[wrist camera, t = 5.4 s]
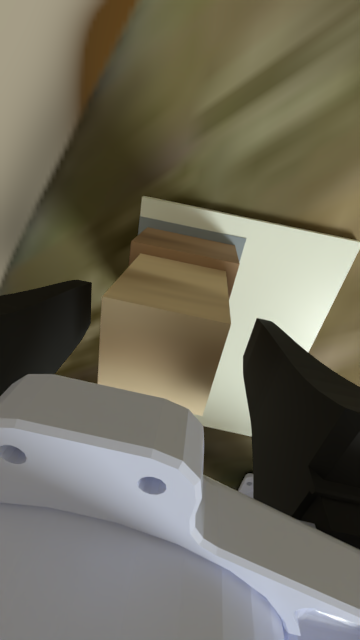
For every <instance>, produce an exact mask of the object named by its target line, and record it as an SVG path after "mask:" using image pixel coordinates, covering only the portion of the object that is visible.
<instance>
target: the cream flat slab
mask: <svg viewBox="0 0 360 640" xmlns="http://www.w3.org/2000/svg"><path fill="white" fill-rule="evenodd" d="M147 227H149V228H154V229H159V230H163V231H168V232H173V233H178V234H182V235H187V236H192V237H197V238H201V239H206V240H211V241H216V242H221V243H225V244H230V245H235V247H236V251H237V255H238V259H239V263H240V265H239V268H238V271H237V275H236V278H235V282H234V285H233V289H232V292H231V295H230V299H229V307H230V317H231V326H230V330H229V333H228V336H227V339H226V342H225V346H224V349H223V352H222V355H221V358H220V362H219V365H218V368H217V371H216V374H215V378H214V381H213V384H212V387H211V390H210V394H209V397H208V400H207V403H206V406H205V410H204V413H203V416H199V415H195V414H193V415H194V416H195V417H196V418H197V419H198V420H199V422H200V423H201V424H202V425H203V426H205V427H210V428H215V429H219V430H224V431H228V432H233V433H237V434H242V435H247V436H251V437H252V430H251V421H250V414H249V409H248V403H247V397H246V391H245V385H244V378H243V355H244V352H245V349H246V347H247V344H248V341H249V338H250V335H251V333H252V330H253V327H254V324H255V322H256V319H257V318H259V319H264V320H269V321H272V322H273V323H275V324H276V325H277V326H278V327H280V328H281V329H282V330H283V331H284V332H285V333H286V334H287V335H288V336H290V337H291V338H292V339H293V340H294V341H295V342H296V343H297V344H299V345H300V346H301V347H302V348H303V349H304V350H306V351H307V352H309V350H310V348H311V346H312V344H313V342H314V340H315V338H316V336H317V334H318V332H319V330H320V328H321V326H322V324H323V322H324V320H325V318H326V316H327V314H328V312H329V310H330V308H331V306H332V304H333V302H334V300H335V298H336V296H337V294H338V292H339V290H340V288H341V286H342V283H343V281H344V279H345V277H346V275H347V273H348V271H349V269H350V267H351V265H352V263H353V261H354V259H355V257H356V255H357V253H358V251H359V249H360V241H358V240H354V239H349V238H344V237H340V236H335V235H330V234H325V233H320V232H316V231H311V230H306V229H301V228H296V227H292V226H287V225H282V224H277V223H272V222H268V221H263V220H258V219H253V218H249V217H244V216H239V215H234V214H229V213H225V212H220V211H215V210H210V209H205V208H201V207H196V206H191V205H186V204H181V203H177V202H172V201H167V200H162V199H157V198H153V197H148V196H143V197H142V202H141V212H140V219H139V229H138V235H139V234H140V233H141V232H142V231H144V230H145V229H146V228H147Z"/></svg>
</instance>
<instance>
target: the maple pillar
mask: <svg viewBox="0 0 360 640" xmlns="http://www.w3.org/2000/svg"><path fill="white" fill-rule="evenodd" d="M230 326H231V317H230V307H229V297H228V287H227V277H226V271H221V270H217V269H212V268H207V267H203V266H198V265H193V264H188V263H184V262H179V261H174V260H170V259H165V258H160V257H155V256H151V255H146V254H141V253H140V255H139V256H138V257H137V258H136V259H135V260H134V261H133V262H132V264H131V265H130V266H129V267H128V268H127V269H126V270H125V271H124V272H123V274H122V275H121V276H120V277H119V278H118V279H117V280H116V281H115V282H114V284H113V285H112V286H111V287H110V288H109V289H108V290H107V291H106V292H105V294H104V295H103V296H102V305H101V325H100V346H99V366H98V384H100V385H105V386H109V387H114V388H119V389H123V390H128V391H132V392H137V393H141V394H146V395H151V396H155V397H160V398H164V399H167V400H169V401H171V402H174V403H176V404H178V405H181V406H183V407H185V408H187V409H189V410H190V411H191V412H192V413H193V414H195V415H199V416H203V413H204V410H205V406H206V403H207V400H208V397H209V394H210V390H211V387H212V384H213V381H214V378H215V374H216V371H217V368H218V365H219V362H220V358H221V355H222V352H223V349H224V346H225V342H226V339H227V336H228V333H229V330H230Z"/></svg>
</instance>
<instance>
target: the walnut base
mask: <svg viewBox="0 0 360 640" xmlns="http://www.w3.org/2000/svg"><path fill="white" fill-rule="evenodd" d="M140 253H141V254H146V255H151V256H155V257H160V258H165V259H170V260H174V261H179V262H184V263H188V264H193V265H198V266H203V267H207V268H212V269H217V270H221V271H226V277H227V287H228V297H229V299H230V295H231V292H232V289H233V285H234V282H235V278H236V275H237V271H238V268H239V265H240V263H239V259H238V255H237V251H236V247H235V245H230V244H225V243H221V242H216V241H211V240H206V239H201V238H197V237H192V236H187V235H182V234H178V233H173V232H168V231H163V230H159V229H154V228H149V227H147V228H146V229H145V230H144V231H142V232H141V233H140V234H139V235H138V236H137V237H135V238H134V239H133V240H132V241H131V247H130V257H129V266H130V265H131V264H132V262H133V261H134V260H135V259H136V258H137V257H138V256H139V255H140Z"/></svg>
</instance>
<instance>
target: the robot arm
mask: <svg viewBox="0 0 360 640" xmlns="http://www.w3.org/2000/svg"><path fill="white" fill-rule="evenodd" d="M91 286H92V283H91V282H86V281H81V280H71V281H66V282H62V283H58V284H53V285H49V286H45V287H41V288H37V289H33V290H28V291H23V292H19V293H14V294H8V295H2V296H0V640H360V387H359V386H357V385H355V384H353V383H352V382H350V381H348V380H346V379H345V378H343V377H342V376H340V375H338V374H337V373H335V372H334V371H332V370H331V369H329V368H328V367H326V366H325V365H324V364H322V363H321V362H319V361H318V360H317V359H316V358H314V357H313V356H312V355H311V354H309V353H308V352H307V351H306V350H304V349H303V348H302V347H301V346H300V345H299V344H297V343H296V342H295V341H294V340H293V339H292V338H291V337H290V336H288V335H287V334H286V333H285V332H284V331H283V330H282V329H281V328H280V327H278V326H277V325H276V324H275V323H273V322H272V321H269V320H264V319H259V318H257V319H256V322H255V324H254V327H253V330H252V333H251V335H250V338H249V341H248V344H247V347H246V349H245V352H244V355H243V378H244V385H245V391H246V397H247V403H248V409H249V414H250V421H251V430H252V449H253V474H252V473H249V474H246V475H245V477H244V479H243V481H242V483H241V485H240V487H239V489H238V491H236V490H234V489H232V488H230V487H228V486H226V485H224V484H222V483H220V482H218V481H216V480H214V479H212V478H209V477H207V476H205V475H203V462H204V431H203V425H202V424H201V423H200V422H199V420H198V419H197V418H196V417H195V416H194V415H193V413H192V412H191V411H190V410H189V409H187V408H185V407H183V406H181V405H178V404H176V403H174V402H171V401H169V400H167V399H164V398H160V397H155V396H151V395H146V394H141V393H137V392H132V391H128V390H123V389H119V388H114V387H109V386H105V385H100V384H96V383H91V382H86V381H82V380H77V379H73V378H68V377H63V376H59V375H54V374H55V373H56V372H57V370H58V369H59V368H60V367H61V365H62V364H63V363H64V362H65V360H66V359H67V358H68V357H69V355H70V354H71V353H72V352H73V350H74V349H75V348H76V346H77V345H78V344H79V343H80V341H81V340H82V338H83V336H84V335H85V333H86V331H87V329H88V327H89V325H90V322H91Z"/></svg>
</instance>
